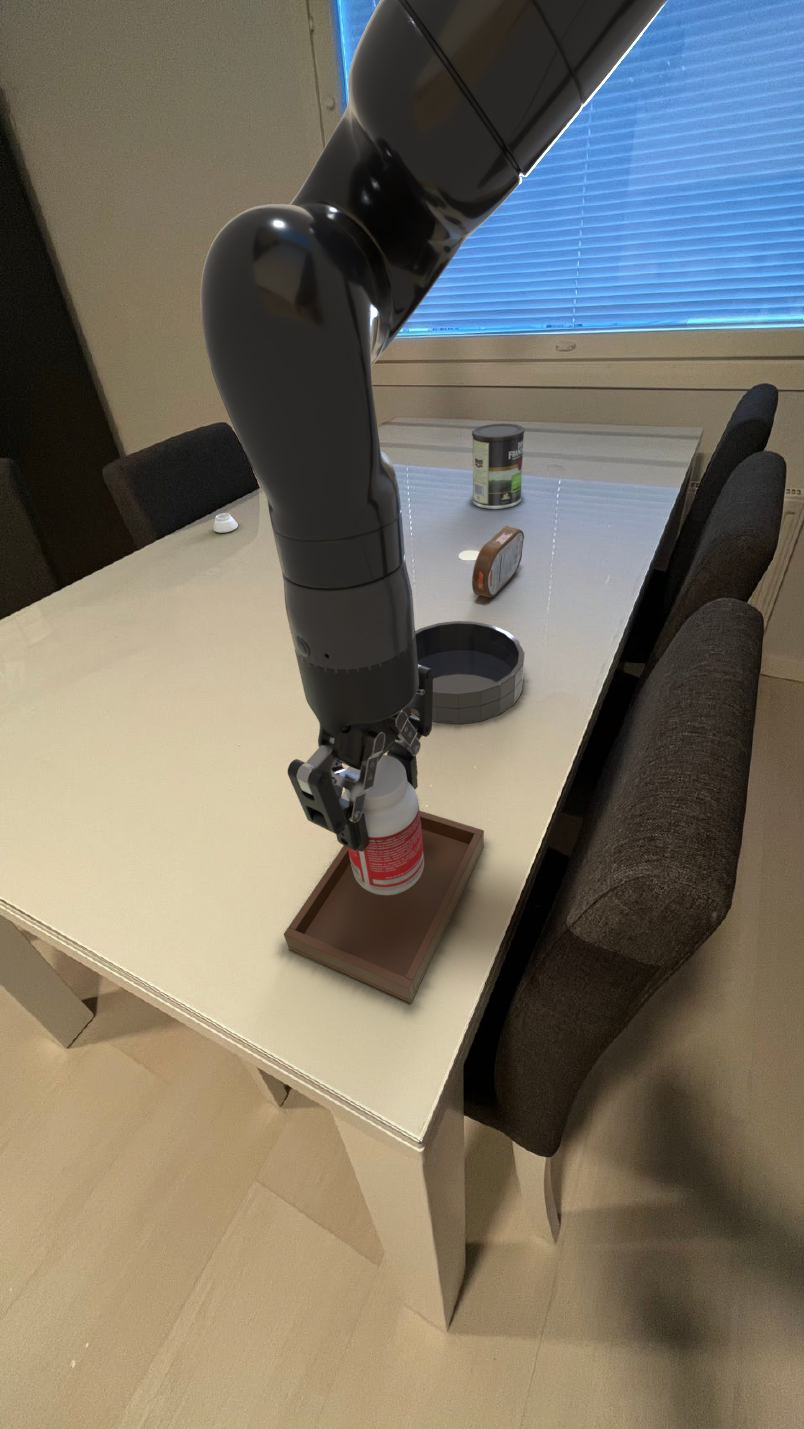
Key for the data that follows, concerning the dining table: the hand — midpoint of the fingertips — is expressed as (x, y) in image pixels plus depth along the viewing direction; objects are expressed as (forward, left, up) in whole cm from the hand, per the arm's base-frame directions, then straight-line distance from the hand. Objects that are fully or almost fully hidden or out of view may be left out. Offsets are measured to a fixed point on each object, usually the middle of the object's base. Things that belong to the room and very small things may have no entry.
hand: (381, 814), depth 47 cm
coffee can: (+58, -80, -11) cm, 99 cm away
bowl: (+18, -27, -11) cm, 34 cm away
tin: (+32, -51, -11) cm, 61 cm away
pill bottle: (0, 0, -7) cm, 7 cm away
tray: (0, 0, -11) cm, 11 cm away
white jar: (+93, -34, -11) cm, 100 cm away
